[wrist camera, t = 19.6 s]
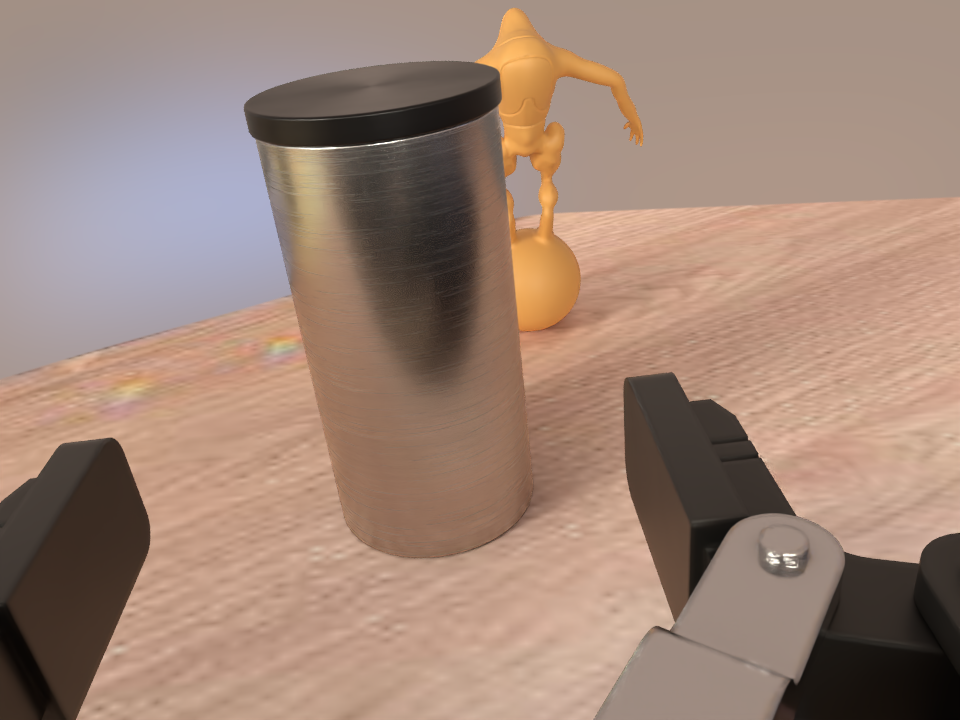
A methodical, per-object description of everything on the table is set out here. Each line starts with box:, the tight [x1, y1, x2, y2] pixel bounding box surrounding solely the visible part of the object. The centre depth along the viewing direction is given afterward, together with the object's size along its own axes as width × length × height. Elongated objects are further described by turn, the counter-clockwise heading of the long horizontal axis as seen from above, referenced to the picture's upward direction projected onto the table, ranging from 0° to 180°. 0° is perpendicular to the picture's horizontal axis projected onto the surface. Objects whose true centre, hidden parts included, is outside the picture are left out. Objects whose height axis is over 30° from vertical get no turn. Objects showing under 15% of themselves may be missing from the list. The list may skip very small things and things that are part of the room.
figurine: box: [474, 8, 643, 331], centre depth 29 cm, size 8×6×12 cm
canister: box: [244, 61, 533, 558], centre depth 21 cm, size 6×6×12 cm
